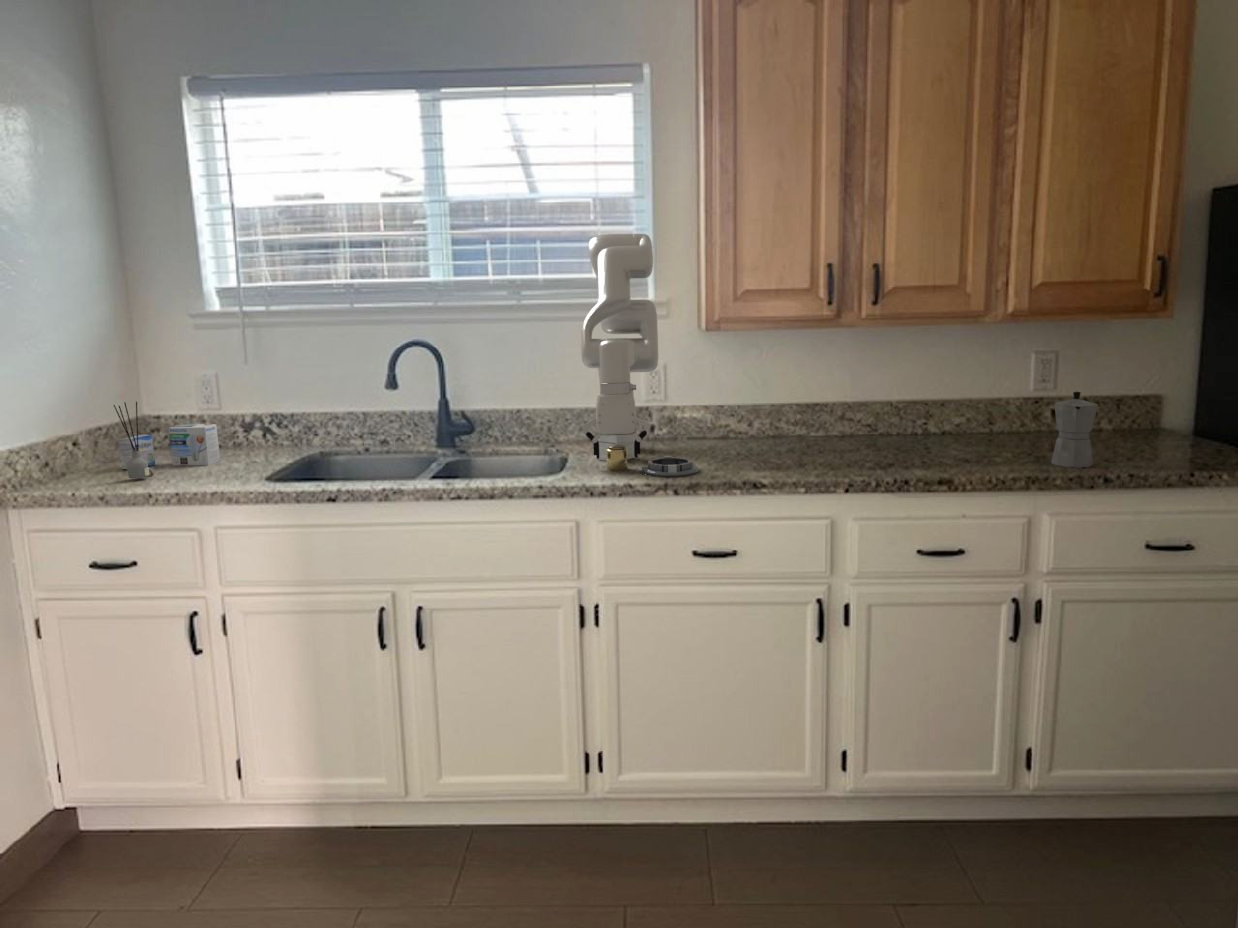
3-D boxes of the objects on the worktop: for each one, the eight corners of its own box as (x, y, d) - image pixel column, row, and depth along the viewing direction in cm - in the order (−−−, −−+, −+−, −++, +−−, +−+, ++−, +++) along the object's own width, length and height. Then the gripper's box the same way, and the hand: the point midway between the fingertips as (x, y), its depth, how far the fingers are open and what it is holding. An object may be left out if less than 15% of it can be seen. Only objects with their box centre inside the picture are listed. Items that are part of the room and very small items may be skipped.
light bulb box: (171, 466, 244) (167, 427, 242) (184, 461, 250) (180, 424, 248) (209, 465, 243) (205, 426, 241) (221, 461, 250) (217, 423, 248)
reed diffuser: (139, 482, 221) (129, 403, 217) (112, 483, 221) (101, 404, 217) (160, 474, 231) (151, 398, 227) (134, 475, 231) (124, 399, 227)
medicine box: (135, 470, 238) (131, 438, 237) (121, 470, 239) (117, 438, 237) (156, 465, 246) (152, 434, 244) (141, 465, 247) (138, 434, 245)
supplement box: (614, 455, 244) (612, 410, 241) (635, 458, 239) (634, 412, 237) (596, 459, 238) (595, 413, 236) (617, 462, 233) (616, 415, 231)
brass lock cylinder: (606, 467, 226) (606, 443, 225) (627, 467, 226) (626, 442, 225) (607, 471, 221) (606, 446, 220) (627, 471, 221) (627, 446, 220)
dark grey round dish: (640, 467, 226) (640, 456, 225) (694, 465, 226) (694, 455, 226) (643, 478, 212) (643, 466, 212) (701, 476, 213) (701, 465, 212)
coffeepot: (1095, 470, 209) (1101, 394, 206) (1051, 468, 213) (1056, 394, 209) (1090, 459, 223) (1095, 388, 220) (1048, 457, 227) (1053, 387, 223)
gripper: (649, 387, 224) (650, 454, 226) (580, 389, 223) (582, 456, 226) (651, 390, 216) (652, 458, 219) (580, 391, 216) (582, 460, 219)
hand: (617, 457), depth 223 cm, fingers open, 9 cm apart
